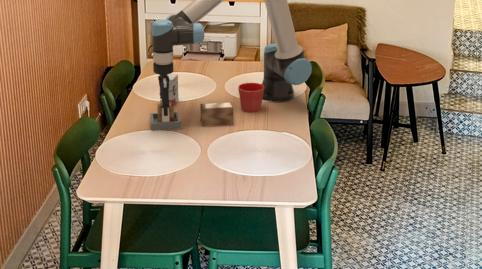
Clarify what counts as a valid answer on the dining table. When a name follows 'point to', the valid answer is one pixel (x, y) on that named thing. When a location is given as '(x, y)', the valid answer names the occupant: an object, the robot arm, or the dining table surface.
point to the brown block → (171, 112)
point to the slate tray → (164, 125)
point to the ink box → (173, 88)
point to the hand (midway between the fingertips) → (165, 119)
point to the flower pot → (251, 96)
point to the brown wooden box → (216, 114)
